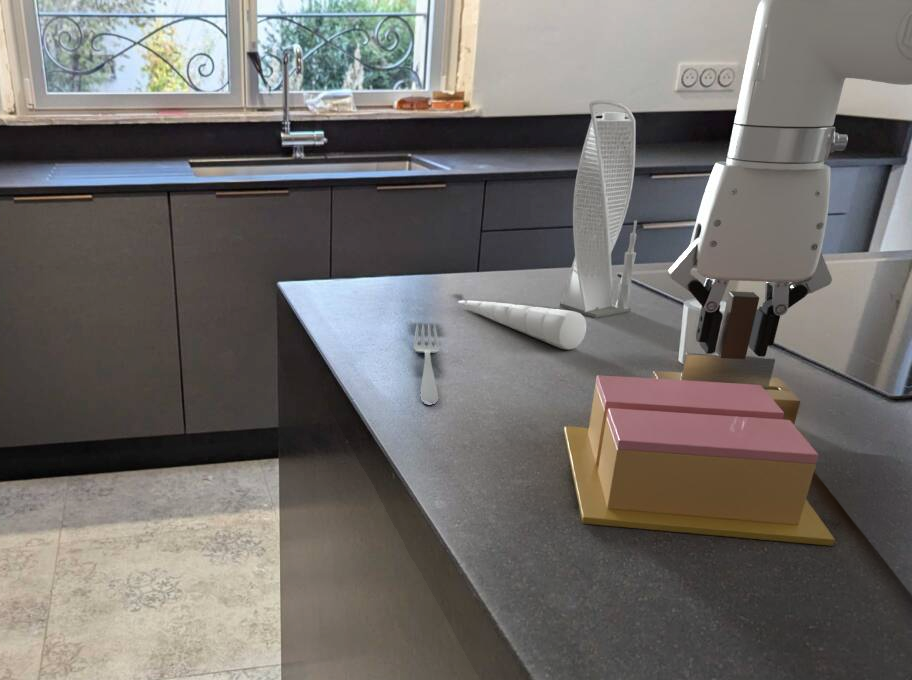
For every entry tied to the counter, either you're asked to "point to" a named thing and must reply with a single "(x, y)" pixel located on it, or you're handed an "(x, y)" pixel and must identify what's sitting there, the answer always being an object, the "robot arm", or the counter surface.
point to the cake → (694, 461)
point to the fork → (427, 364)
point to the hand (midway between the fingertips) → (731, 348)
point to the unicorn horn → (536, 321)
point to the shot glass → (693, 328)
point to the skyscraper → (602, 214)
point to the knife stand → (776, 390)
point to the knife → (732, 349)
